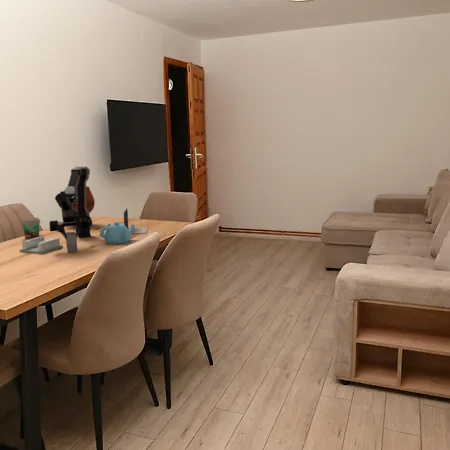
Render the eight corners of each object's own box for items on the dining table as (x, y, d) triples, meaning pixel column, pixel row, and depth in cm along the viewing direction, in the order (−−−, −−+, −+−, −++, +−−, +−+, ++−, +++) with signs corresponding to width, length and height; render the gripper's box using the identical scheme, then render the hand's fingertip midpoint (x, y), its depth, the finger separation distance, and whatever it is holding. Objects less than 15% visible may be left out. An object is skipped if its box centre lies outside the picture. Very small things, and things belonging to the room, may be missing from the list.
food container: (33, 239, 265) (31, 221, 264) (23, 238, 267) (21, 221, 265) (45, 234, 277) (44, 217, 275) (36, 234, 279) (34, 217, 277)
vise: (41, 245, 250) (40, 235, 249) (63, 247, 245) (62, 237, 244) (19, 251, 236) (18, 241, 235) (41, 253, 231) (41, 243, 230)
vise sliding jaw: (37, 243, 249) (37, 236, 249) (44, 244, 248) (44, 236, 247) (18, 248, 238) (18, 241, 237) (25, 249, 236) (25, 241, 235)
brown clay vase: (58, 228, 295) (55, 188, 290) (74, 223, 313) (72, 185, 309) (86, 229, 291) (84, 189, 286) (101, 224, 309) (99, 185, 305)
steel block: (76, 249, 240) (74, 231, 239) (77, 252, 234) (76, 234, 232) (66, 250, 239) (65, 232, 237) (68, 253, 232) (66, 235, 231)
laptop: (146, 234, 278) (145, 212, 275) (124, 234, 276) (123, 212, 274) (148, 228, 295) (147, 207, 293) (127, 228, 294) (126, 207, 292)
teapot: (109, 238, 265) (108, 219, 264) (135, 239, 263) (134, 219, 261) (98, 244, 251) (97, 224, 249) (126, 245, 248) (125, 224, 246)
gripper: (48, 204, 232) (51, 230, 224) (87, 202, 239) (91, 227, 231) (48, 218, 241) (51, 243, 233) (86, 215, 248) (90, 240, 240)
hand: (71, 238), depth 234 cm, fingers closed on steel block, 4 cm apart
